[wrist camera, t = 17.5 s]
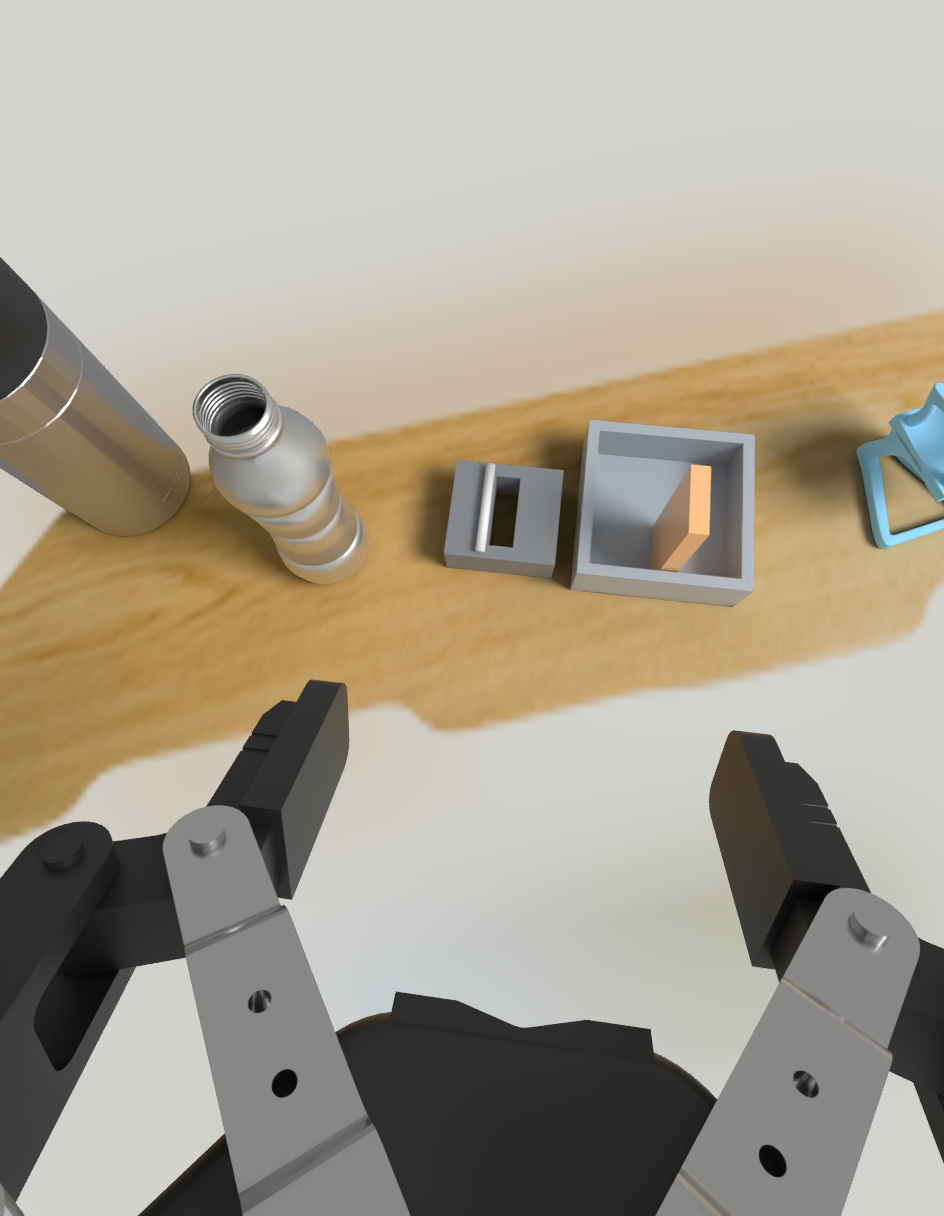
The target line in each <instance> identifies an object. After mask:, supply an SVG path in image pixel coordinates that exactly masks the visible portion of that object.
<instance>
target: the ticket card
mask: <svg viewBox="0 0 944 1216" xmlns="http://www.w3.org/2000/svg"><path fill="white" fill-rule="evenodd" d="M710 492H711V466H702V465H691V466H690V467H689V469H688V471H687V472H686V474H685V475H684V477H683V479H682V480H681V482H680V483H679V485H678V487H677V488H676V490H675V492H674V493H673V495H672V496H671V498H670V500H669V501H668V503H667V504H666V506H665V508H664V509H663V511H662V513H661V514H660V516H659V517H658V519H657V521H656V522H655V524H654V525H653V527H652V542H651V561H650V570H659V571H669V572H678V571H679V569H680V568H681V567H682V566H683V565H684V564H685V563H686V561H687V560H688V559H689V558H690V557H691V556H692V554H693V553H694V552H695V551H696V550H697V549H698V548H699V546H700V545H701V544H702V543H703V542H704V541H705V540H706V538H707V537H708V536H709V529H710Z"/></svg>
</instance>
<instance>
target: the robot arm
mask: <svg viewBox="0 0 944 1216" xmlns="http://www.w3.org/2000/svg"><path fill="white" fill-rule="evenodd" d="M0 468H1V469H3V470H5V471H6V472H8V473H9V474H11V475H12V476H14V477H15V478H17V479H19V480H20V481H22V482H23V483H25V484H26V485H28V486H29V487H31V488H33V489H34V490H36V491H37V492H39V493H40V494H42V495H44V496H45V497H47V498H48V499H50V500H51V501H53V502H55V503H56V504H58V505H59V506H61V507H62V508H64V509H65V510H67V511H69V512H70V513H73V514H75V515H76V516H78V517H79V518H81V519H83V520H84V521H86V522H87V523H89V524H90V525H92V526H94V527H95V528H97V529H98V530H100V531H102V532H104V533H107V534H110V535H115V536H123V537H125V536H136V535H140V534H143V533H147V532H150V531H152V530H154V529H156V528H158V527H160V526H161V525H162V524H164V523H165V522H166V521H168V520H169V519H170V518H171V517H172V516H173V515H174V514H175V513H176V512H177V511H178V510H179V508H180V506H181V505H182V503H183V502H184V500H185V498H186V495H187V492H188V490H189V484H190V467H189V464H188V461H187V458H186V456H185V455H184V453H183V452H182V450H181V448H180V447H179V446H178V445H177V444H176V443H175V442H174V441H173V440H172V439H171V438H170V437H169V436H168V435H167V434H166V432H165V431H164V430H163V429H162V428H161V427H160V426H159V425H158V424H157V423H156V421H155V420H154V419H153V418H152V417H151V416H150V415H149V414H148V413H147V412H146V411H145V410H144V409H143V408H142V406H141V405H139V403H138V402H137V401H136V400H135V399H134V398H133V397H132V396H131V395H130V394H129V393H128V392H127V390H126V389H125V388H124V387H123V386H122V385H121V384H120V383H119V382H118V381H117V380H116V379H115V378H114V377H113V375H111V373H110V372H109V371H108V370H107V369H106V368H105V367H104V366H103V365H102V364H101V363H100V362H99V360H97V358H96V357H95V356H94V355H93V354H92V353H91V352H90V351H89V350H88V349H87V348H86V347H85V346H84V345H83V343H81V341H80V340H79V339H78V338H77V337H76V336H75V335H74V334H73V333H72V332H71V331H70V330H69V329H68V328H67V327H66V326H65V325H64V323H63V322H62V321H61V320H60V319H59V318H58V317H57V316H56V315H55V314H54V313H53V312H52V311H51V309H50V308H49V307H48V306H47V305H46V304H45V303H44V302H43V301H42V300H41V299H40V298H39V297H38V296H37V295H36V293H35V292H34V291H33V290H32V289H31V288H30V287H29V286H28V285H27V284H26V283H25V282H24V281H23V280H22V279H21V278H20V277H19V276H18V275H17V274H16V273H15V272H14V271H13V270H12V269H11V268H10V267H9V265H8V264H6V263H5V261H4V260H3V259H2V258H0ZM348 749H349V721H348V698H347V687H346V685H345V684H344V683H337V682H328V681H320V680H309V681H308V683H307V684H306V686H305V688H304V689H303V691H302V693H301V695H300V697H299V698H298V700H297V702H293V701H284V700H282V701H280V702H279V703H278V704H276V705H275V706H274V707H272V708H271V709H270V710H268V711H267V712H266V713H264V714H263V715H262V717H261V718H260V720H259V722H258V723H257V725H256V727H255V728H254V730H253V732H252V735H251V736H249V738H248V740H247V741H246V743H245V745H244V746H243V750H242V751H240V753H239V754H238V756H237V758H236V759H235V761H234V763H233V764H232V766H231V767H230V769H229V771H228V772H227V774H226V775H225V777H224V779H223V780H222V782H221V784H220V785H219V787H218V789H217V790H216V792H215V793H214V795H213V797H212V798H211V800H210V802H209V803H208V805H207V806H206V807H203V808H200V809H197V810H195V811H192V812H190V813H189V814H187V815H185V816H184V817H182V818H181V819H179V820H178V821H177V822H176V823H175V824H174V825H173V826H172V827H171V828H170V829H169V831H168V833H165V834H161V835H156V836H150V837H143V838H135V839H128V840H121V841H112V838H111V835H110V833H109V831H108V830H107V829H106V828H105V827H103V826H102V825H99V824H97V823H94V822H72V823H69V824H64V825H61V826H58V827H55V828H53V829H51V830H49V831H47V832H45V833H43V834H42V835H40V836H39V837H37V838H36V839H34V840H33V841H32V842H31V843H30V844H29V845H27V846H26V847H25V849H24V850H23V851H22V852H21V853H20V854H19V856H18V857H17V858H16V860H15V861H14V862H13V863H12V864H11V866H10V867H9V868H8V870H7V871H6V872H5V873H4V875H3V876H2V877H1V878H0V1216H24V1214H23V1212H22V1211H21V1210H20V1208H19V1207H18V1206H17V1204H16V1201H17V1199H18V1197H19V1195H20V1193H21V1191H22V1189H23V1187H24V1185H25V1183H26V1181H27V1179H28V1177H29V1175H30V1173H31V1171H32V1169H33V1167H34V1165H35V1164H36V1162H37V1159H38V1158H39V1156H40V1154H41V1152H42V1150H43V1148H44V1146H45V1144H46V1142H47V1140H48V1138H49V1136H50V1134H51V1132H52V1130H53V1128H54V1126H55V1124H56V1122H57V1120H58V1118H59V1117H60V1115H61V1113H62V1111H63V1108H64V1106H65V1105H66V1103H67V1101H68V1099H69V1097H70V1095H71V1093H72V1091H73V1089H74V1087H75V1085H76V1083H77V1081H78V1079H79V1077H80V1075H81V1073H82V1072H83V1070H84V1068H85V1066H86V1064H87V1062H88V1060H89V1057H90V1055H91V1054H92V1052H93V1050H94V1048H95V1046H96V1044H97V1042H98V1040H99V1038H100V1036H101V1034H102V1032H103V1030H104V1028H105V1026H106V1025H107V1023H108V1021H109V1019H110V1017H111V1015H112V1013H113V1011H114V1009H115V1007H116V1005H117V1003H118V1001H119V999H120V997H121V995H122V993H123V991H124V989H125V987H126V985H127V983H128V981H129V979H130V977H131V976H132V974H133V972H134V970H135V968H136V966H142V965H147V964H153V963H158V962H164V961H169V960H175V959H180V958H186V960H187V965H188V970H189V974H190V979H191V983H192V988H193V992H194V996H195V1000H196V1006H197V1010H198V1015H199V1019H200V1023H201V1028H202V1032H203V1037H204V1041H205V1046H206V1050H207V1055H208V1059H209V1064H210V1068H211V1073H212V1077H213V1082H214V1086H215V1091H216V1095H217V1100H218V1104H219V1108H220V1113H221V1117H222V1122H223V1126H224V1130H225V1134H224V1135H222V1136H221V1137H220V1138H219V1139H218V1140H217V1141H216V1142H215V1143H214V1144H213V1145H212V1146H211V1147H210V1148H209V1149H208V1150H207V1151H206V1152H205V1153H203V1155H201V1156H200V1157H199V1158H198V1159H197V1160H196V1161H195V1162H194V1163H193V1164H192V1165H191V1166H190V1167H189V1168H188V1169H187V1170H186V1171H184V1172H183V1174H181V1175H180V1176H179V1177H178V1178H177V1179H176V1180H175V1181H174V1182H173V1183H172V1184H171V1185H170V1186H169V1187H168V1188H167V1189H166V1190H165V1191H163V1192H162V1193H161V1194H160V1195H159V1196H158V1197H157V1198H156V1199H155V1200H154V1201H153V1202H152V1203H151V1204H150V1205H149V1206H148V1207H147V1208H145V1210H143V1211H142V1212H141V1213H140V1214H139V1215H138V1216H841V1214H842V1210H843V1208H844V1204H845V1202H846V1199H847V1195H848V1193H849V1189H850V1187H851V1184H852V1181H853V1178H854V1175H855V1171H856V1168H857V1166H858V1163H859V1160H860V1156H861V1153H862V1151H863V1147H864V1145H865V1142H866V1139H867V1136H868V1133H869V1129H870V1127H871V1124H872V1121H873V1118H874V1115H875V1111H876V1108H877V1106H878V1102H879V1100H880V1097H881V1094H882V1091H883V1088H884V1085H885V1082H886V1079H887V1076H888V1073H889V1071H890V1072H892V1073H894V1074H896V1075H899V1076H901V1077H903V1078H905V1079H907V1080H910V1081H911V1082H913V1083H914V1086H915V1088H916V1091H917V1094H918V1096H919V1099H920V1102H921V1104H922V1107H923V1110H924V1112H925V1115H926V1118H927V1120H928V1123H929V1126H930V1128H931V1131H932V1134H933V1136H934V1139H935V1142H936V1144H937V1147H938V1150H939V1152H940V1155H941V1158H942V1160H943V1163H944V949H943V948H941V947H938V946H936V945H933V944H930V943H928V942H926V941H924V940H922V939H920V938H918V937H917V935H916V933H915V931H914V929H913V928H912V926H911V925H910V923H909V922H908V921H907V920H906V918H905V917H904V916H903V915H902V914H901V913H900V912H899V911H898V910H897V909H895V908H894V907H893V906H891V905H890V904H889V903H887V902H886V901H884V900H883V899H881V898H879V897H877V896H875V895H873V894H871V892H870V890H869V888H868V886H867V884H866V882H865V879H864V878H863V875H862V873H861V871H860V869H859V867H858V865H857V863H856V861H855V859H854V857H853V855H852V853H851V851H850V849H849V847H848V845H847V843H846V841H845V839H844V837H843V835H842V832H841V830H840V828H837V822H836V820H835V818H834V816H833V814H832V812H831V810H829V809H828V804H827V802H826V800H825V798H824V796H823V794H822V792H821V790H820V788H819V786H818V784H817V783H816V782H815V781H814V780H813V778H812V777H811V776H810V775H809V774H808V773H806V771H805V770H804V769H803V768H802V767H801V766H800V765H799V764H797V763H790V762H785V761H784V758H783V756H782V754H781V752H780V749H779V747H778V745H777V743H776V741H775V739H774V737H773V736H771V735H768V734H760V733H751V732H742V731H734V730H733V731H731V732H730V733H729V735H728V737H727V740H726V743H725V745H724V749H723V751H722V754H721V758H720V760H719V763H718V766H717V769H716V772H715V775H714V778H713V781H712V784H711V788H710V796H709V807H710V814H711V819H712V822H713V826H714V830H715V833H716V837H717V840H718V844H719V848H720V851H721V855H722V858H723V862H724V866H725V869H726V873H727V876H728V880H729V884H730V888H731V891H732V895H733V898H734V902H735V906H736V909H737V913H738V917H739V920H740V924H741V927H742V931H743V935H744V938H745V942H746V945H747V949H748V953H749V956H750V960H751V964H752V966H755V967H761V968H768V969H775V970H776V973H777V977H778V980H779V985H778V987H777V989H776V991H775V993H774V995H773V996H772V998H771V1000H770V1002H769V1004H768V1006H767V1008H766V1010H765V1011H764V1013H763V1015H762V1017H761V1019H760V1021H759V1023H758V1025H757V1026H756V1028H755V1030H754V1032H753V1034H752V1036H751V1038H750V1040H749V1042H748V1043H747V1045H746V1047H745V1049H744V1051H743V1053H742V1055H741V1057H740V1058H739V1060H738V1062H737V1064H736V1066H735V1068H734V1070H733V1072H732V1073H731V1075H730V1077H729V1079H728V1081H727V1083H726V1085H725V1087H724V1088H723V1090H722V1092H721V1094H720V1096H719V1098H718V1100H717V1099H716V1098H715V1097H714V1096H713V1095H712V1094H711V1093H710V1092H709V1090H708V1089H707V1088H705V1087H704V1086H703V1085H702V1084H701V1083H700V1082H699V1081H698V1080H697V1079H695V1078H694V1077H693V1076H692V1075H691V1074H689V1073H688V1072H686V1071H685V1070H684V1069H682V1068H681V1067H680V1066H678V1065H676V1064H675V1063H673V1062H671V1061H670V1060H668V1059H666V1058H665V1057H663V1056H661V1055H658V1054H656V1053H654V1052H653V1044H652V1036H651V1029H645V1028H638V1027H631V1026H624V1025H618V1024H611V1023H605V1022H597V1021H591V1020H582V1021H575V1022H568V1023H559V1024H552V1025H545V1026H537V1027H529V1028H520V1027H517V1026H514V1025H511V1024H509V1023H507V1022H504V1021H502V1020H500V1019H498V1018H496V1017H493V1016H491V1015H489V1014H486V1013H484V1012H482V1011H479V1010H477V1009H475V1008H473V1007H470V1006H468V1005H466V1004H464V1003H461V1002H459V1001H456V1000H449V999H442V998H435V997H429V996H422V995H415V994H409V993H401V992H396V993H395V998H394V1003H393V1008H392V1012H387V1013H380V1014H377V1015H373V1016H369V1017H366V1018H363V1019H360V1020H358V1021H356V1022H353V1023H351V1024H349V1025H347V1026H345V1027H344V1028H342V1029H340V1030H338V1031H337V1032H335V1031H334V1028H333V1025H332V1023H331V1020H330V1018H329V1015H328V1012H327V1010H326V1007H325V1005H324V1002H323V999H322V997H321V994H320V992H319V989H318V987H317V984H316V981H315V979H314V976H313V973H312V971H311V968H310V966H309V963H308V960H307V958H306V955H305V953H304V950H303V947H302V945H301V942H300V939H299V937H298V934H297V932H296V929H295V926H294V924H293V921H292V919H291V916H290V914H289V912H288V910H287V908H286V906H285V905H283V906H281V905H280V903H279V900H278V898H284V899H291V900H292V898H293V896H294V893H295V891H296V888H297V886H298V883H299V881H300V878H301V876H302V873H303V871H304V868H305V866H306V863H307V861H308V858H309V856H310V853H311V850H312V848H313V845H314V843H315V840H316V838H317V835H318V833H319V830H320V828H321V825H322V823H323V820H324V818H325V815H326V812H327V810H328V808H329V805H330V802H331V800H332V798H333V795H334V792H335V790H336V787H337V785H338V782H339V780H340V777H341V775H342V772H343V770H344V767H345V764H346V760H347V755H348Z"/></svg>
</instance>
